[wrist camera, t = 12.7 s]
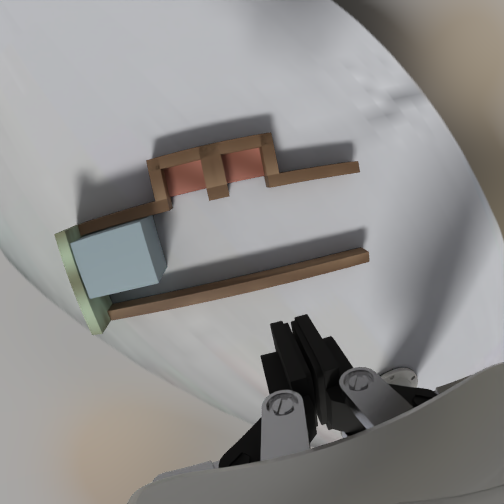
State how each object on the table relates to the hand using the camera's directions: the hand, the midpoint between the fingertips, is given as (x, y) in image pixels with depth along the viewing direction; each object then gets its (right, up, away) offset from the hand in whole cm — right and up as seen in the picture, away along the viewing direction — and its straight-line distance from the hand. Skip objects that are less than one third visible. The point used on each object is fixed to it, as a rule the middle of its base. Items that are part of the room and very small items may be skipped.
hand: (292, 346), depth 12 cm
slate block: (-16, +4, +17) cm, 24 cm away
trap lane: (-6, +7, +17) cm, 20 cm away
